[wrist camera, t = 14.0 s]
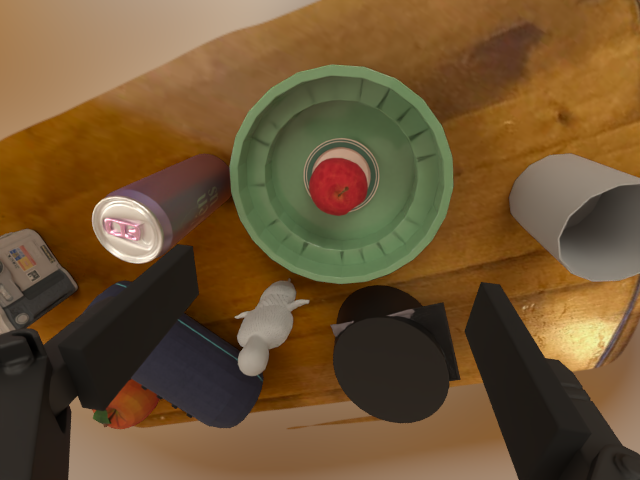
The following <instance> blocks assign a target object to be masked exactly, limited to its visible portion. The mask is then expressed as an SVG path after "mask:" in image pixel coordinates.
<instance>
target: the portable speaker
mask: <svg viewBox="0 0 640 480" xmlns="http://www.w3.org/2000/svg"><path fill="white" fill-rule="evenodd" d="M131 283H132V282H129V281H120V282H117V283H116V284H114V285H112V286H110V287H109V288H108V289H106V290H105V291H104V292H103V293H101V294H100V295H98V296H97V297H96V298H95V299H94V300H93V301H92V303H91V304H90V305H89V306H88V307H87V309H86V310H88V309H89V308H90V307H91V306H93V305H94V304H95V303H97V302H99V301H101V300H103V299H105V298H107V297H109V296H112V297H116V296H117V295H118V294H119V293H120V292H121V291H123V290H124V289H125V288H126V287H127V286H129V285H130V284H131ZM86 310H85V311H86ZM85 311H84V312H85ZM84 312H83V314H84ZM240 352H241V351H239V350H238V349H236V348H235V347H233V346H232V345H230V344H229V343H227V342H226V341H224V340H223V339H221V338H220V337H218V336H217V335H215V334H214V333H213V332H211V331H210V330H208V329H207V328H205V327H204V326H202V325H201V324H199V323H198V322H196V321H195V320H193V319H192V318H190V317H189V316H187V315H186V314H184V313H183V314H182V315H181V317H180V318H179V319H178V320H177V322H176V323H175V324H174V325H173V327H172V328H171V329H170V330H169V332H168V333H167V334H166V335H165V336H164V338H163V339H162V340H161V341H160V343H159V344H158V345H157V346H156V348H155V349H154V350H153V351H152V352H151V354H150V355H149V356H148V357H147V359H146V360H145V361H144V362H143V364H142V365H141V366H140V367H139V369H138V370H137V371H136V372H135V373H134V375H133V376H132V377H131V378H130V380H131V379H133V380H134V381H136V382H137V383H139V384H141V385H142V386H141V388H143V389H144V390H147V389H149V390H150V391H152V392H154V393H155V394H157V396H156V397H157V398H159V399H162V398H164V399H165V400H167V401H168V402H170V403H172V407H174V408H175V409H177V407H178V408H180V409H181V410H183V411H185V412H186V413H187V416H188V417H190V418H192V416H193V417H195V418H196V419H198V420H199V421H201V422H203V423H204V424H206V425H208V426H213V427H218V428H231V427H234V426H236V425H238V424H239V423H240V422H241V421H243V420H244V419H245V417H246V416H247V415H248V414H249V413H250V411H251V410H252V408H253V406H254V405H255V403H256V401H257V400H258V397H259V394H260V392H261V389H262V384H263V373H262V372H261V373H260V374H258V375H256V376H248V375H246V374H244V373H243V372H242V371H241V370H240V368H239V365H238V356H239V353H240Z"/></svg>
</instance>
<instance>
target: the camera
mask: <svg viewBox="0 0 640 480" xmlns="http://www.w3.org/2000/svg"><path fill="white" fill-rule="evenodd" d="M77 289H78V286H77V284H76V283H75V281H74V280H73V278H72V277H71V275H70V274H69V273H68V271H67V270H65V269H64V268H62V267H61V266H60V264H59V263H58V261H57V260H56V258H55V257H54V256H53V254H52V253H51V251H50V250H49V248H48V247H47V245H46V244H45V242H44V241H43V240H42V238H41V237H40V235H39V234H38V233H36V232H35V231H33V230H30V229H25V230H21V231H18V232H14V233H13V232H11V233H8V234H4V235H2V236H0V335H1V334H3V333H6V332H9V331H12V330H17V329H23V328H27V327H28V326H30V325H31V324H32V323H34V322H35V321H36V320H38V319H39V318H41V317H42V316H43V315H44V314H46V313H47V312H48V311H50V310H51V309H53V308H54V307H55V306H57V305H58V304H60V303H61V302H63V301H64V300H65V299H66V298H68V297H69V296H70V295H72V294H73V293H74V292H75V291H76V290H77Z"/></svg>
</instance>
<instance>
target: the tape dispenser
mask: <svg viewBox="0 0 640 480" xmlns="http://www.w3.org/2000/svg"><path fill="white" fill-rule="evenodd" d="M331 327H332V330H333V333H334V335H335V344H334V353H333V365H334V370H335V375H336V377H337V380H338V382H339V384H340V386H341V388H342V389H343V391H344V392H345V394H346V395H347V396H348V397H349V398H350V399H351V401H352V402H353V403H355V404H356V405H357V406H358V407H359V408H360V409H362V410H364V411H365V412H367V413H368V414H370V415H372V416H374V417H377V418H379V419H382V420H385V421H389V422H395V423H412V422H416V421H420V420H423V419H425V418H427V417H429V416H431V415H432V414H433V413H435V412H436V411H437V410H438V409H439V408H440V407H441V405H442V404H443V402H444V400H445V398H446V396H447V393H448V389H449V381H454V380H460V375H459V371H458V366H457V362H456V357H455V353H454V348H453V344H452V339H451V335H450V330H449V326H448V321H447V317H446V312H445V307H444V303H438V304H433V305H428V306H422V305H421V304H420V303H419V302H418V301H417V300H416V299H415V298H413V297H412V296H410V295H409V294H407V293H405V292H403V291H401V290H399V289H396V288H392V287H389V286H379V285H375V286H368V287H364V288H362V289H359V290H357V291H355V292H354V293H353V294H351V295H350V296H349V297H348V298H347V299H346V300H345V301H344V303H343V304H342V306H341V308H340V310H339V314H338V318H337V324H333V325H331Z"/></svg>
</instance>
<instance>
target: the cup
mask: <svg viewBox="0 0 640 480" xmlns="http://www.w3.org/2000/svg"><path fill="white" fill-rule="evenodd" d="M509 203H510V210H511V214H512V215H513V217H514V218H515V219H516V220H517V221H518V222H519V224H520V225H521V226H522V227H523V228H524V229H525V230H526V231H527V232H528V233H529V234H531V235H532V236H533V237H534V238H535V239H536V240H537V241H538V242H539V243H540V244H541V245H542V246H543V247H544V248H545V249H546V250H547V251H548V252H549V253H551V254H552V255H553V256H554V257H555V258H556V259H557V260H558V261H559V262H560V263H561V264H562V265H563V266H564V267H565V268H566V269H567V270H568V271H569V272H570V273H572V274H574V275H577V276H579V277H582V278H585V279H587V280H590V281H620V280H622V279H625V278H628V277H631V276H634V275H637V274H640V178H638V177H635V176H632V175H630V174H627V173H624V172H621V171H618V170H616V169H613V168H610V167H607V166H605V165H602V164H599V163H596V162H594V161H591V160H588V159H585V158H583V157H580V156H577V155H574V154H571V153H570V154H559V155H550V156H547V157H545V158H543V159H541V160H539V161H537V162H535V163H533V164H531V165H530V166H529V167H528V168H527V169H526V170H525V171H524V172H523V173H522V174H521V175H520V176H519V177H518V178H517V179H516V180H515V183H514V185H513V188H512V191H511V193H510V196H509Z"/></svg>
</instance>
